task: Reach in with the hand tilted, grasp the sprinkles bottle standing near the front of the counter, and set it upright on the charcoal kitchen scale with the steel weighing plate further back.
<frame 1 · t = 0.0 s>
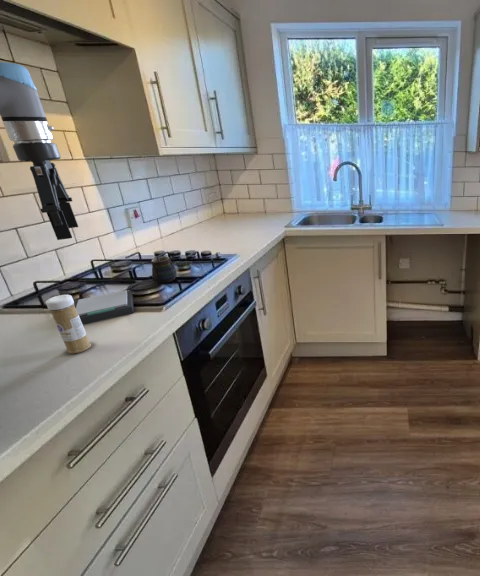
hand: (68, 233, 91), 24 cm above the countertop, tool pointing down, fingers open, 13 cm apart
mate gourd: (167, 281, 125), on the countertop
scale: (105, 310, 105), on the countertop
sprinkles bottle: (80, 349, 86), on the countertop
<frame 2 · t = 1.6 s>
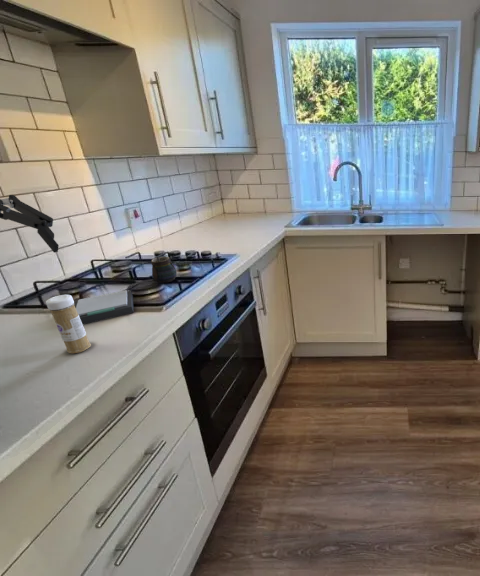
hand: (20, 257, 82), 22 cm above the countertop, tool tilted 45°, fingers open, 13 cm apart
nothing on the countertop moved.
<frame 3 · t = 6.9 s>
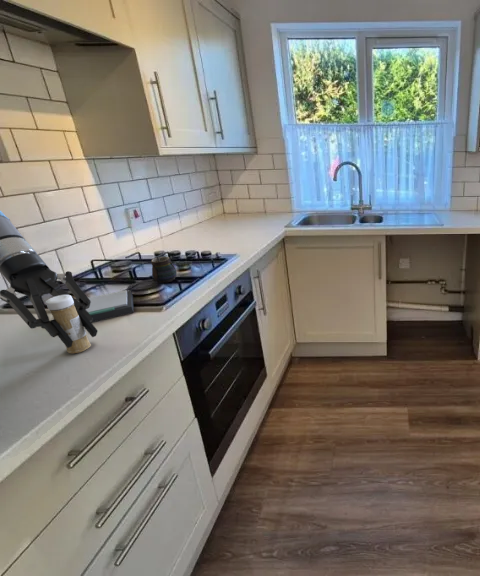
hand: (82, 339, 83), 4 cm above the countertop, tool tilted 45°, fingers closed on sprinkles bottle, 4 cm apart
sprinkles bottle: (80, 349, 86), on the countertop, touching gripper
everything else where it was.
when the fingers open (6 cm above the countertop, at t = 15.0 s): sprinkles bottle stays where it is, resting on scale.
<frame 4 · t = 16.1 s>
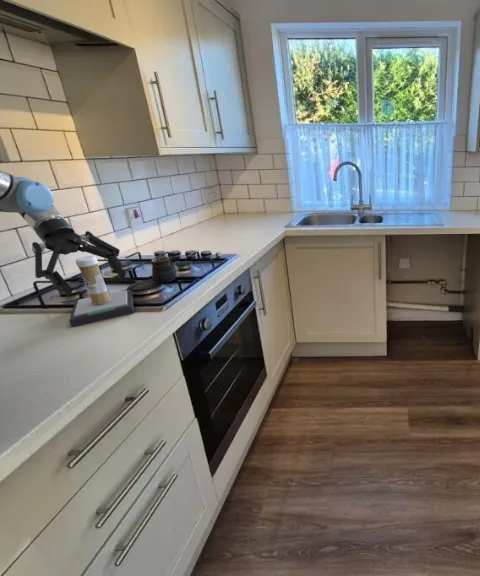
hand: (98, 283, 101), 9 cm above the countertop, tool tilted 45°, fingers open, 13 cm apart
sprinkles bottle: (102, 302, 104), point 2 cm above the countertop, touching scale
everything else where it was.
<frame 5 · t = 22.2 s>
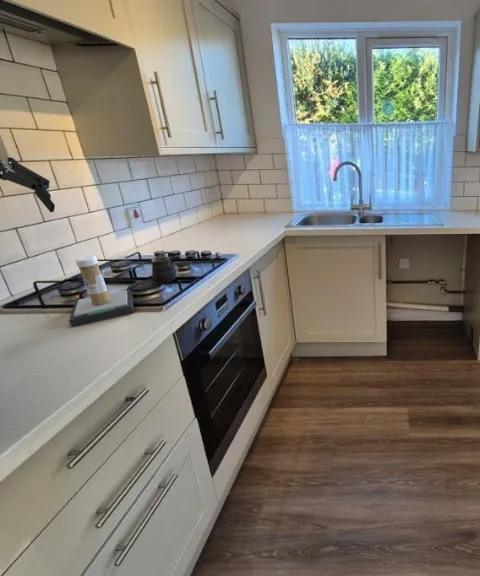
hand: (19, 214, 87), 30 cm above the countertop, tool tilted 45°, fingers open, 13 cm apart
nothing on the countertop moved.
at the end: sprinkles bottle inside the target area on the scale (0.5 cm from its centre), point 2.4 cm above the scale's base; sprinkles bottle tilted 0°; the gripper is holding nothing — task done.
